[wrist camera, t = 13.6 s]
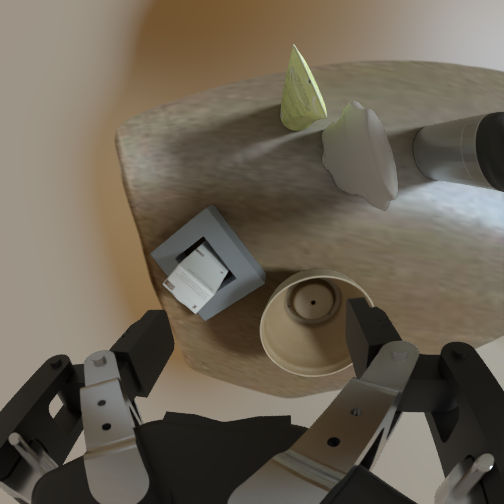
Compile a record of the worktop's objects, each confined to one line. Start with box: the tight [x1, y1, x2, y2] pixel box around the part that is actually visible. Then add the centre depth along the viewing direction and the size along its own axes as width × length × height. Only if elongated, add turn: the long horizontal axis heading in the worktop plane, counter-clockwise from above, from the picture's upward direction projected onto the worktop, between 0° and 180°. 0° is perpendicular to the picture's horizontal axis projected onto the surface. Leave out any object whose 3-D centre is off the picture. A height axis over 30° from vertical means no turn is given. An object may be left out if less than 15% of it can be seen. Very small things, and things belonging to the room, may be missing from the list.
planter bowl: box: [260, 268, 374, 377], centre depth 42 cm, size 16×16×11 cm
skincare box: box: [163, 241, 229, 314], centre depth 41 cm, size 6×4×12 cm
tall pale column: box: [321, 100, 398, 211], centre depth 30 cm, size 11×4×22 cm, turn 18°
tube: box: [280, 45, 327, 131], centre depth 30 cm, size 6×5×20 cm
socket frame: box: [150, 204, 266, 321], centre depth 45 cm, size 12×14×4 cm
